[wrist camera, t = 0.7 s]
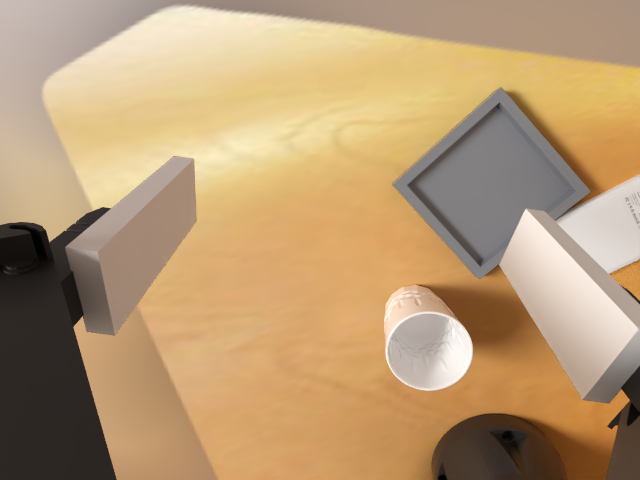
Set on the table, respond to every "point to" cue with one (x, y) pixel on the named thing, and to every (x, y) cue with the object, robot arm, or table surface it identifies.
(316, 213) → the table surface
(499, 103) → the tray
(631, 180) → the external hard drive
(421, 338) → the white cup
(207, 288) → the table surface
